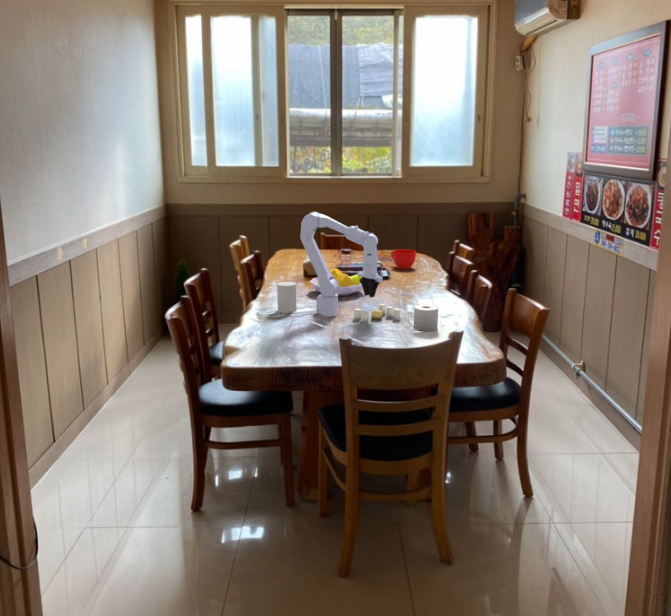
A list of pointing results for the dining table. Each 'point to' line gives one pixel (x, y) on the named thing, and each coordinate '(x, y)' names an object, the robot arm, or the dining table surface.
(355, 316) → the spacers
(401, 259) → the ceramic cup
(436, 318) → the toilet tissue
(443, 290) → the dining table surface
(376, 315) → the brass nut
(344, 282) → the fruit bowl
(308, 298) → the dining table surface
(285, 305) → the cup
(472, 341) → the dining table surface
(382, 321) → the field board
